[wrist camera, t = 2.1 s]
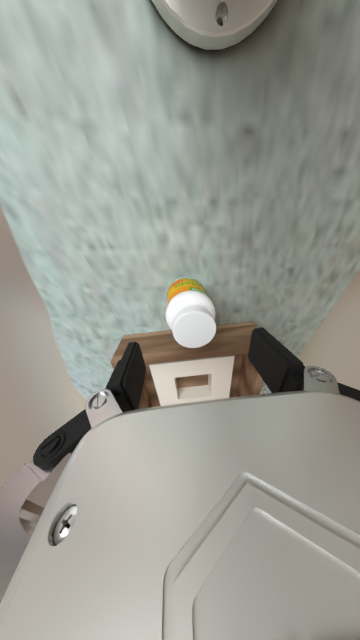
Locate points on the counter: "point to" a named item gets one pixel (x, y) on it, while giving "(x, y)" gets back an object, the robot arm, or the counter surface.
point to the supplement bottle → (190, 313)
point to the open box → (168, 349)
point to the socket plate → (214, 367)
